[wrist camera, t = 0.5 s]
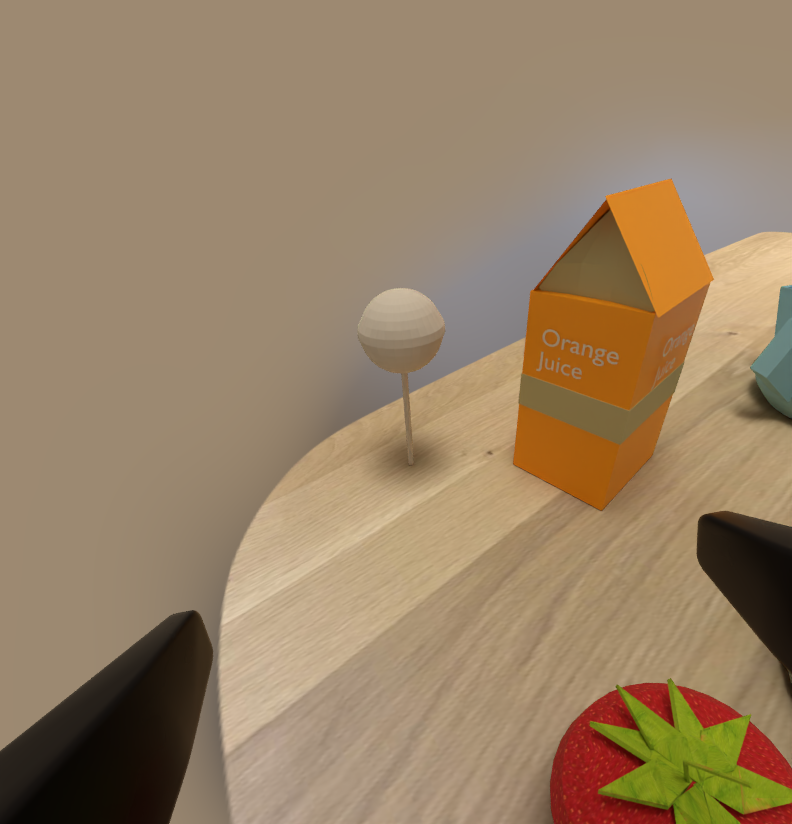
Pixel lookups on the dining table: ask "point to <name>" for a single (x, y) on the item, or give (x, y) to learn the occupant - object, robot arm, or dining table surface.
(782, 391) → the teapot
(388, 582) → the dining table surface
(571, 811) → the strawberry
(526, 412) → the orange juice
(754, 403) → the dining table surface
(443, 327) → the lollipop
